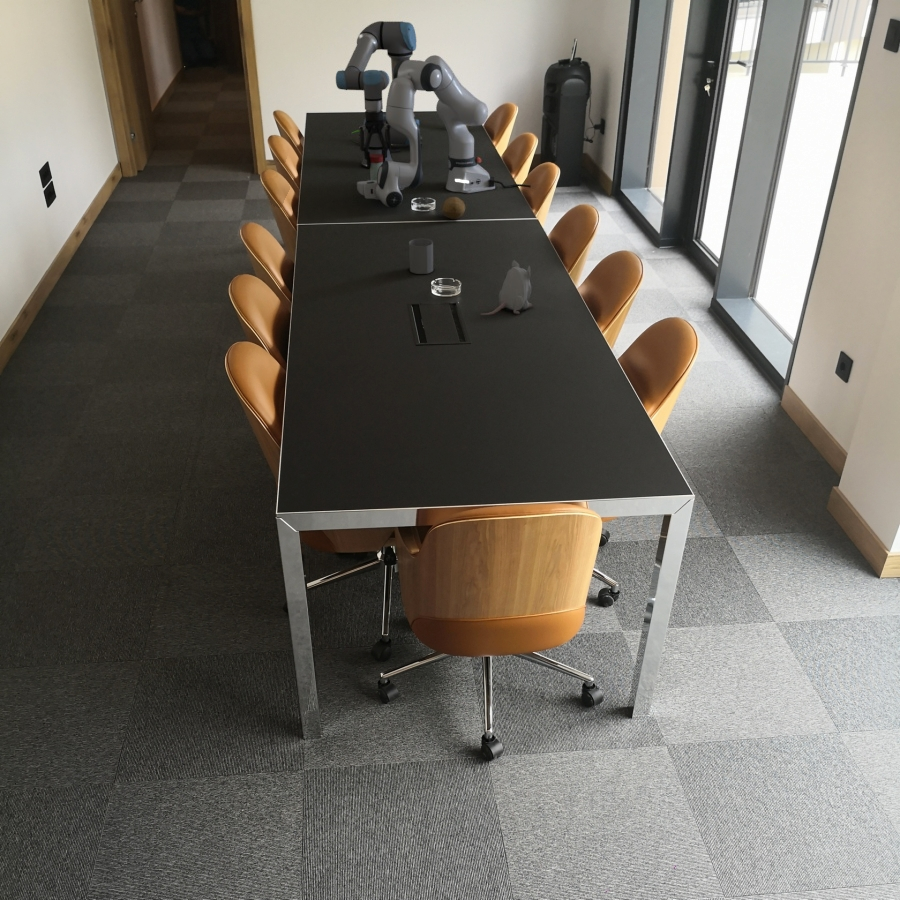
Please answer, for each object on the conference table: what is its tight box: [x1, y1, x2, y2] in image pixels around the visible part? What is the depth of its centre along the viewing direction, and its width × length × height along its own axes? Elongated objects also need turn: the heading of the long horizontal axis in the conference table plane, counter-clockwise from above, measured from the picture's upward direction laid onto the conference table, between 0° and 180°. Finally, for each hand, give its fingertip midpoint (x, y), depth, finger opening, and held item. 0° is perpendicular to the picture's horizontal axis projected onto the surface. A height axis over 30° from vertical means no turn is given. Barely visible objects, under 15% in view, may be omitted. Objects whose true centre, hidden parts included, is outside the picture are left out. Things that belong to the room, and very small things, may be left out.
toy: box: [481, 259, 533, 316], centre depth 272 cm, size 9×24×15 cm, turn 137°
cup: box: [408, 237, 434, 275], centre depth 305 cm, size 8×8×10 cm
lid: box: [370, 154, 383, 163], centre depth 375 cm, size 6×6×2 cm
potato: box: [441, 196, 466, 220], centre depth 355 cm, size 10×14×8 cm
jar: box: [369, 162, 383, 181], centre depth 380 cm, size 6×6×17 cm
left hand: (376, 166), depth 377 cm, fingers closed on lid, 6 cm apart
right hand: (376, 180), depth 381 cm, fingers closed on jar, 5 cm apart
